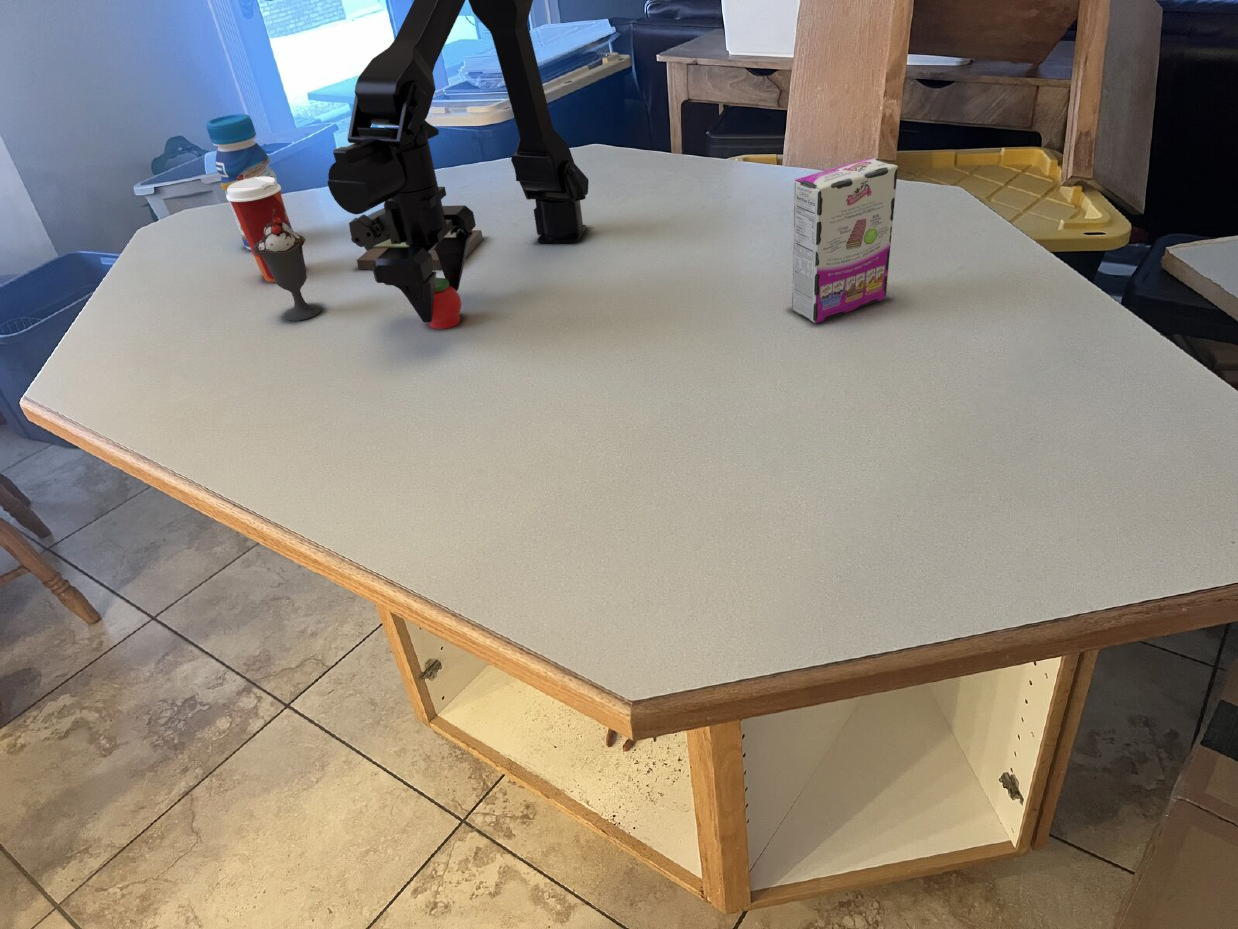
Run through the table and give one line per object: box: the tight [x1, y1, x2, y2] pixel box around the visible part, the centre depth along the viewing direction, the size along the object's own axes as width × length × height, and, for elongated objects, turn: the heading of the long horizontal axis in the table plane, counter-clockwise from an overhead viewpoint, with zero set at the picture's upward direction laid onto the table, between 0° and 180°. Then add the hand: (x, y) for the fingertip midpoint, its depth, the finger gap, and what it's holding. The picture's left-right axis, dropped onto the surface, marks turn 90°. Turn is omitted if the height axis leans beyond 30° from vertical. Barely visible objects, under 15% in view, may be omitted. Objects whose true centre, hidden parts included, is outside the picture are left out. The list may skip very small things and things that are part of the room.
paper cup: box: [226, 176, 290, 283], centre depth 123 cm, size 8×8×14 cm
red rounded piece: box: [429, 277, 462, 330], centre depth 106 cm, size 5×5×6 cm
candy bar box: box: [791, 157, 899, 324], centre depth 97 cm, size 11×5×16 cm, turn 117°
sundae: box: [253, 209, 322, 322], centre depth 110 cm, size 7×7×15 cm
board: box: [356, 229, 484, 270], centre depth 128 cm, size 16×12×2 cm
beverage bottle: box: [205, 113, 294, 251], centre depth 133 cm, size 8×8×20 cm
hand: (441, 305), depth 107 cm, fingers open, 9 cm apart
